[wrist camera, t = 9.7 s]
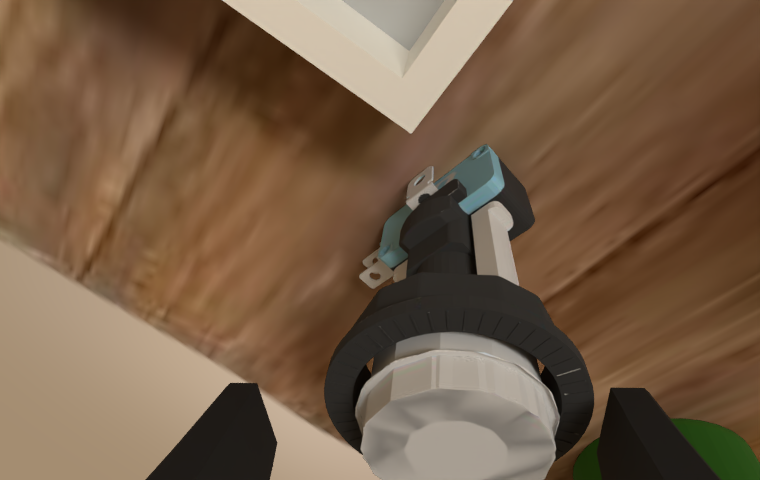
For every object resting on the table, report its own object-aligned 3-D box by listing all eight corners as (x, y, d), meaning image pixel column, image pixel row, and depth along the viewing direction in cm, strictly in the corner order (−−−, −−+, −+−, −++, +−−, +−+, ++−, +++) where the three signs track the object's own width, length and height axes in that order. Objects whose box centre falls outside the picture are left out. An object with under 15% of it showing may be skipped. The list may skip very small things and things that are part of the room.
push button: (413, 299, 20) (394, 567, 12) (319, 213, 18) (216, 455, 10) (556, 207, 17) (666, 476, 9) (461, 94, 15) (485, 294, 7)
